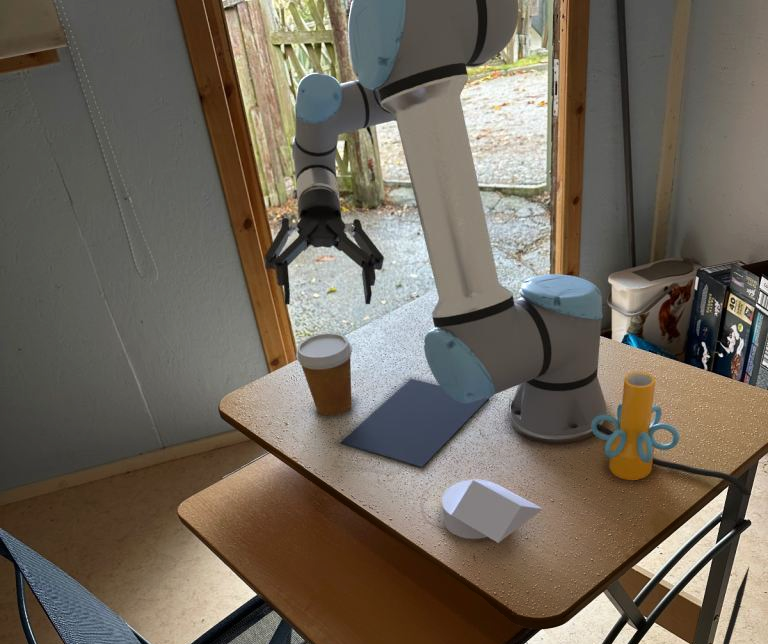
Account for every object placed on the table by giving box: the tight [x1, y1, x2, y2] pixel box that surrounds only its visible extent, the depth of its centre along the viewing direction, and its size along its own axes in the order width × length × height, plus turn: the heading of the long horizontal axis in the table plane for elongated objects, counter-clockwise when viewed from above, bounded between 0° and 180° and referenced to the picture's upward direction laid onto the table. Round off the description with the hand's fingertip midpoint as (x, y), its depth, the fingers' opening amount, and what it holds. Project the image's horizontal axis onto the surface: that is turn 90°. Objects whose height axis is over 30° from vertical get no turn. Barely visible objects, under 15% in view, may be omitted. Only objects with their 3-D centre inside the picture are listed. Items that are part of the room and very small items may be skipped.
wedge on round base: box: [441, 478, 544, 544], centre depth 106 cm, size 9×7×13 cm
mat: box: [339, 378, 490, 469], centre depth 130 cm, size 16×22×1 cm
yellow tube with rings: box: [591, 371, 680, 481], centre depth 109 cm, size 12×10×15 cm
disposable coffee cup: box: [295, 332, 353, 416], centre depth 133 cm, size 10×10×12 cm
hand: (328, 299), depth 129 cm, fingers open, 13 cm apart
